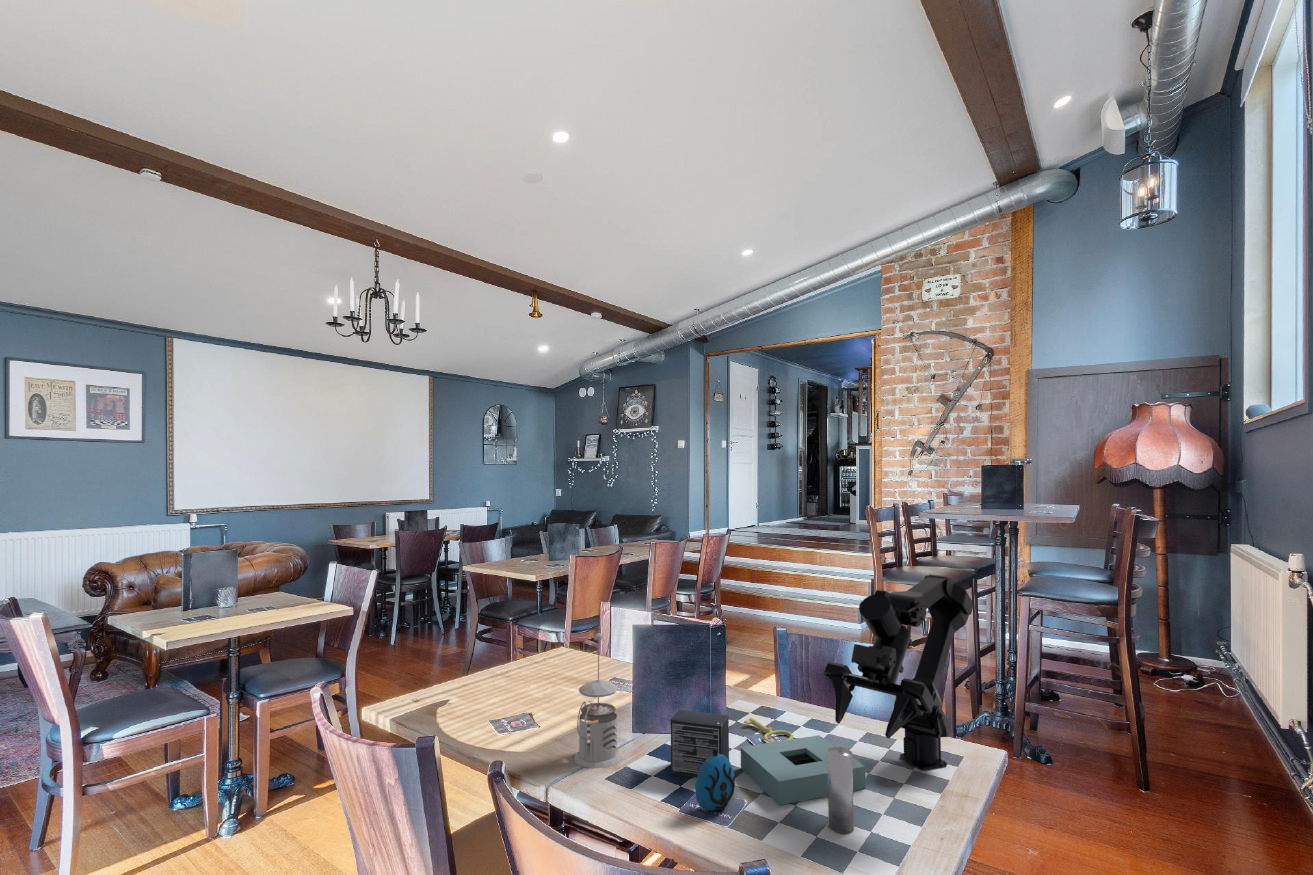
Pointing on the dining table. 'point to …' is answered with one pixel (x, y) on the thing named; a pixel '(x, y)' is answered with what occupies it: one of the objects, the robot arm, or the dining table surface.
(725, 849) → the dining table surface
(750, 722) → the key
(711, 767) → the ornament
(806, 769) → the box
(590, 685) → the french press
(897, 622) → the robot arm
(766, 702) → the dining table surface
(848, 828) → the tube
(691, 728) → the small box
